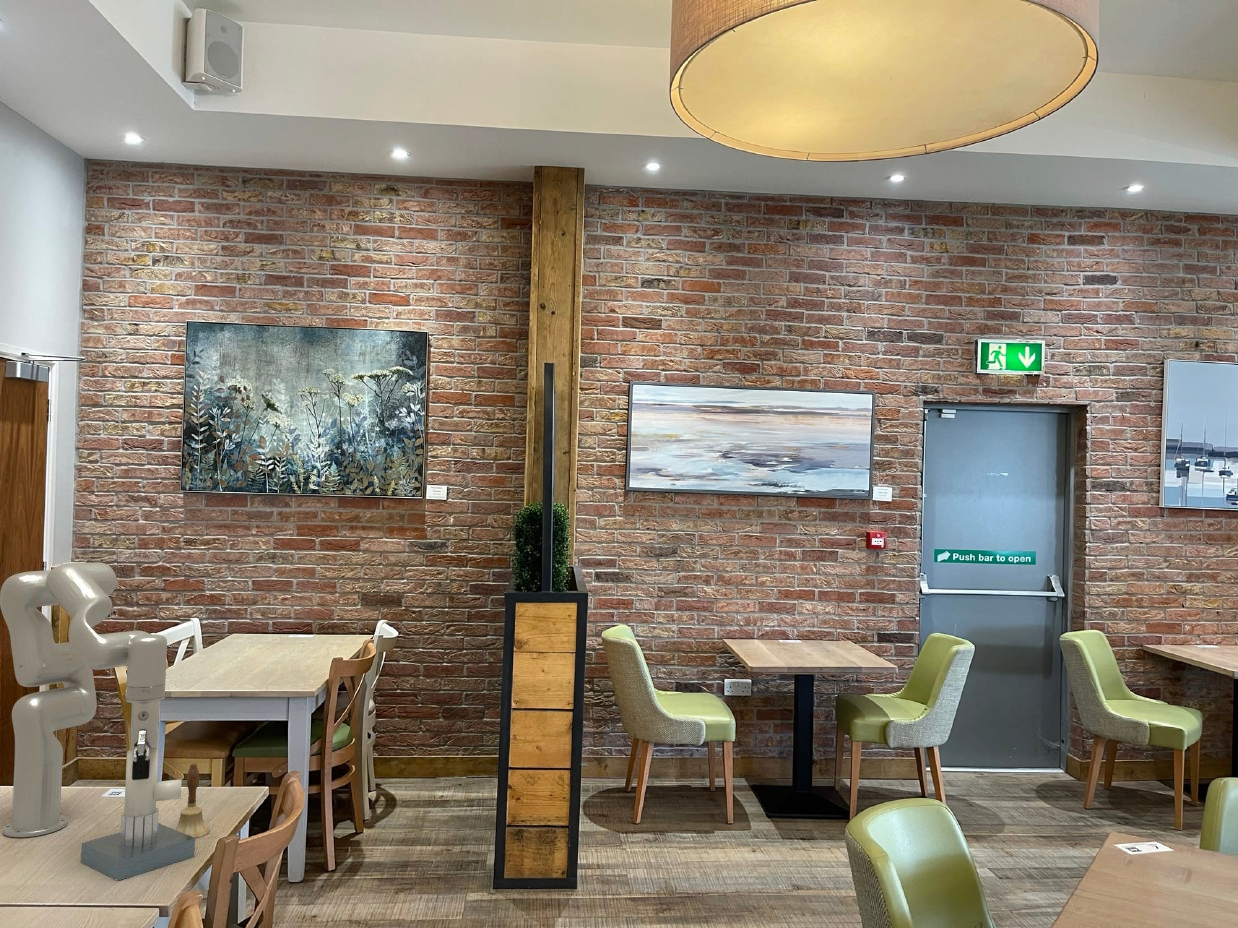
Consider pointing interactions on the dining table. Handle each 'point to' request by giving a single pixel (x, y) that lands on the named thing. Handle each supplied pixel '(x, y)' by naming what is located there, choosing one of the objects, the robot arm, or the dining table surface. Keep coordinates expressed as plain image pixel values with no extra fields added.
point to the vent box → (137, 847)
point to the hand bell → (192, 809)
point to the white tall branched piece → (147, 788)
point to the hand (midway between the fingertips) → (142, 772)
